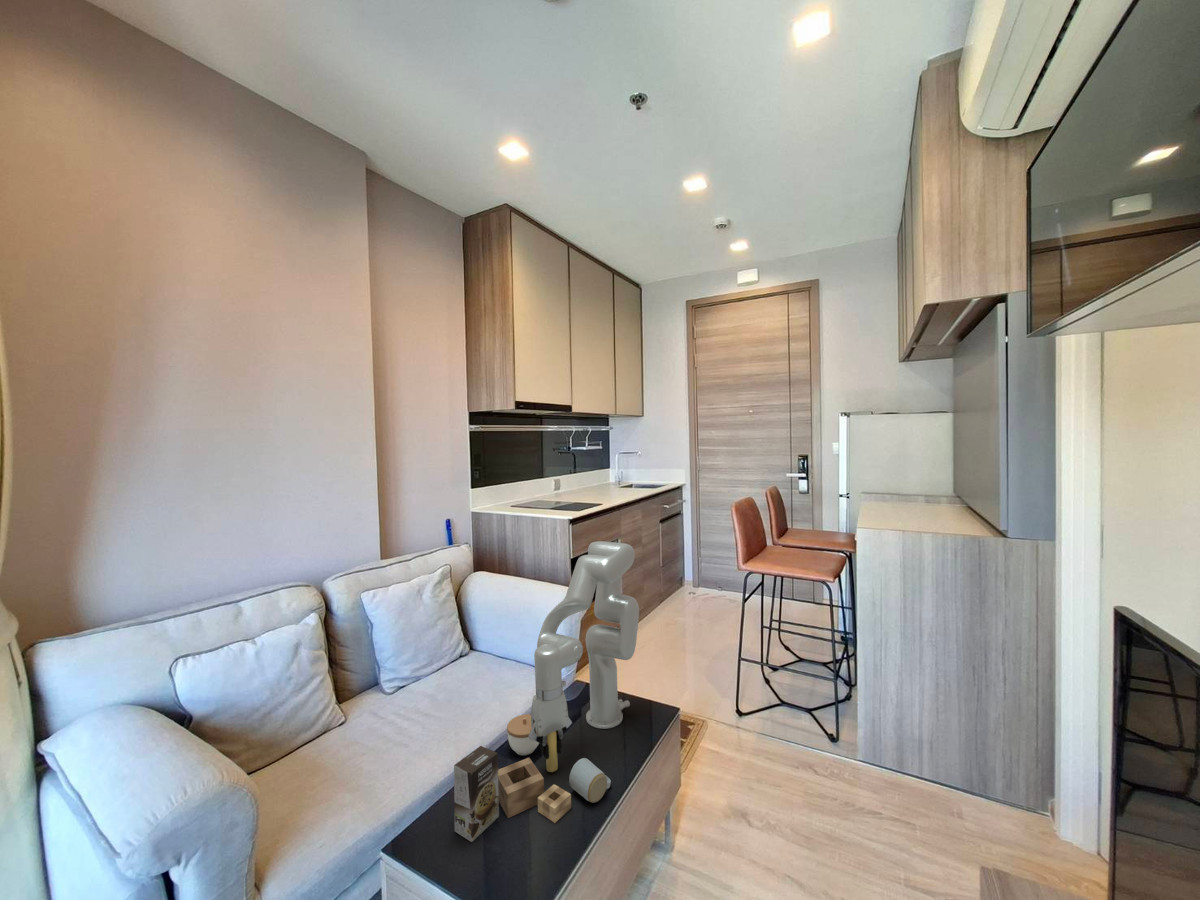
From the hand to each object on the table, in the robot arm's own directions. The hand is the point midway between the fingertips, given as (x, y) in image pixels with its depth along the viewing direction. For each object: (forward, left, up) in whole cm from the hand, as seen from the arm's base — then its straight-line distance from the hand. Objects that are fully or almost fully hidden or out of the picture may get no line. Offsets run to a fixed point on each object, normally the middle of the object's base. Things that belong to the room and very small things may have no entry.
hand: (551, 753), depth 130 cm
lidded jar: (+3, -14, -5) cm, 15 cm away
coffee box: (+24, +7, -5) cm, 25 cm away
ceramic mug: (-6, +13, -5) cm, 15 cm away
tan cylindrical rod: (0, 0, -4) cm, 4 cm away
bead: (+12, +4, -5) cm, 13 cm away
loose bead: (+6, +13, -5) cm, 15 cm away
